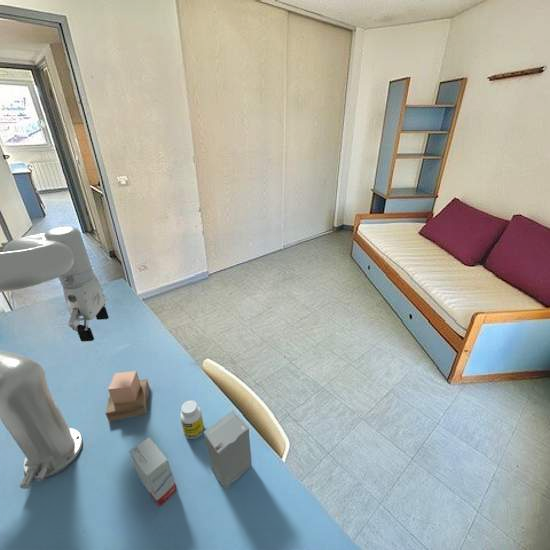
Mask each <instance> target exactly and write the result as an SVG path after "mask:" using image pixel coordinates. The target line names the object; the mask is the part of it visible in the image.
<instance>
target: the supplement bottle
mask: <svg viewBox="0 0 550 550" xmlns="http://www.w3.org/2000/svg"><path fill="white" fill-rule="evenodd" d="M180 410H181V411H180V415H179V417H180V422H181V427H182V430H183V434H184V436H185V437H186V438H187V439H189V440H192V439H193V440H194V439H197V438H199V437H200V436H202V434H203V433H204V431H205V430H204V428H205V427H204V419H203V415H202V410H201V407H200V406H198V404H197V402H196V401H195V400H187V401H184V402H183V404H182V405H181V408H180Z"/></svg>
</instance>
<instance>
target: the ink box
mask: <svg viewBox="0 0 550 550" xmlns="http://www.w3.org/2000/svg"><path fill="white" fill-rule="evenodd" d="M129 455H130V457H131V460H132V462H133V465H134V467H135V469H136V472H137V475H138V477H139V480H140V481H141V483H142V484H143V486H144V487H145V489H146V491H147V492H148V493H149V494H150V496H151V497H152V499H153V500H154V501H155V503H156V504H157V505H158V507H162V505H163V504H165V503H166V502H167V501H168V500H169V499H170V498H171V497H172V496H173V495H174V494H175V492H176V491H178V488H177V484H176V482H175V478H174V475H173V471H172V470H171V469H172V468H171V466H170V462H169V460H168V457H166V455H165V454H164V453H163V452H162V451H161V449H160V448H159V447H158V446H157V444H156V443H155V442H154V441H153V439H152V438H151V437H150V436H147V437H146V438H145V439H143V440H142V441H141V442H139V443H138V444H137V445H136V446H134V447H133V448H132V449H130V450H129Z"/></svg>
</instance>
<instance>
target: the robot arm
mask: <svg viewBox="0 0 550 550" xmlns="http://www.w3.org/2000/svg"><path fill="white" fill-rule="evenodd" d="M55 279H59V282H60V285H61V287H62V290H63V295H64V299H65V303H66V307H67V310H68V312H69V314H70V318H69V321H68V326H69V327H70V328H71V329H72V330H73V331H75V332H77V335H78V337H79V339H80V341H81V342H84V343H85V342H94V340H95V337H94V334H93V331H92V329H91V327H89V322H90V321H92V320H93V319H94V318H96V320H99V321H101V320H108V319H109V318H110V317H109V314H108V311H107V308H106V301H107V299H106V297H105V294H104V288H102V286H101V284H100V281H99V279H98V277H97V275H96V274H95V273H94V269H93V266H92V264H91V260H90V258H89V255H88V252H87V248H86V245H85V242H84V240H83V236H82V233H81V231H80V230H79V229H78V228H77V227H75V226H71V225H70V226H67V225H66V226H58V227H54V228H51V229H48V230H47V231H45V232H42V233H38V234H33V235H27V236H22V237H17V238H15V239H12V240H11V241H8V243H7V244H5V245H4V247H3V250H2V251H1V252H0V293H4V292H10V291H15V290H21V289H26V288H29V287H30V288H31V287H34V286H38V285H41V284H43V283H47V282H49V281H50V282H51V281H53V280H55ZM81 321H83V324H80V323H81ZM0 420H1V422H2V423H3V425H4V427H5V428H6V430H7V431H8V432H9V434H10V435H11V437H12V438H13V441H15V443H16V444H17V446H18V447H19V449H20V450H21V453H23V454H24V457H25V458H24V459H23V464H22V467H23V470H24V473H25V477H23V479H22V481H21V483H20V485H19V488H21V489H23V490H26V489H29V488H30V487H31V485H32V483H33V481H34V479H36V481H38V482H39V481H40V482H41V481H43V480H44V479H47V478H48V477H52V476H54V475H56V474H58V473H60V472H61V471H63V470H64V469H65V468H67V467H68V466H69V465H70V464H71V463H73V461H74V460H75V459H76V457H77V456H78V455H79V453H80V452H81V449H82V447H83V443H84V442H83V436H82V434H81V432H79V430H77V429H75V428H70V427H69V425H68V423H67V421H66V419H65V418H64V415H63V414H62V411H60V408H59V406H58V404H57V403H56V401H55V399H54V397H53V395H52V393H51V391H50V389H49V385H48V381H47V377H46V372H45V370H44V368H43V366H42V365H41V364H40V363H39V362H38V361H36V360H34V359H33V358H30V357H27V356H25V355H21V354H17V353H14V352H9V351H6V350H2V349H0Z"/></svg>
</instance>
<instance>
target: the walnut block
mask: <svg viewBox="0 0 550 550" xmlns="http://www.w3.org/2000/svg"><path fill="white" fill-rule="evenodd" d="M139 381H140V384H141V386H140V389H139V392H138V395H137V398H136V401H135V402H127V403H118V404H114V403H113V401H112V398H111V396H110V395H109V398H108V402H107V405H106V406H107V407H106V410H105V415H106V418H107V421H108V423H110V422H113V421H119V420H122V419H128V418H132V417H137V416H139V415H145V414H147V411H148V401H149V392H150V385H149V382H148V378H144V379H139Z"/></svg>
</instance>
